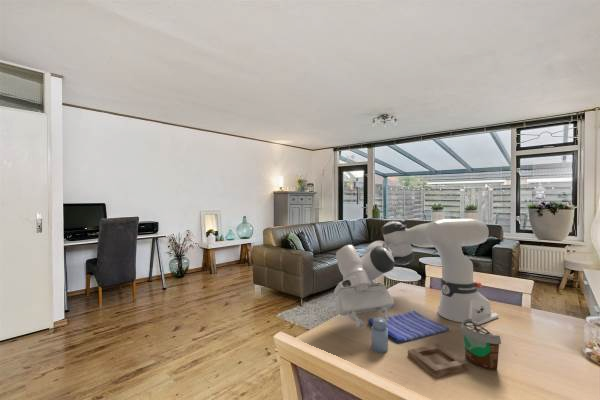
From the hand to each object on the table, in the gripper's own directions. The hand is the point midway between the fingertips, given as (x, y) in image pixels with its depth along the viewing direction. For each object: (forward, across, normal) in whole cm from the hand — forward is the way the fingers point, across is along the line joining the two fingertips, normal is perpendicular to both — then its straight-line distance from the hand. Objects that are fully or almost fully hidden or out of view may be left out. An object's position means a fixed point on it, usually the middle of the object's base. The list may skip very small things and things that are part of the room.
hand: (373, 324), depth 94 cm
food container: (+17, -23, +8) cm, 30 cm away
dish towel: (0, -18, -11) cm, 21 cm away
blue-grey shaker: (+7, -1, -3) cm, 7 cm away
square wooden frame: (+15, -12, +6) cm, 20 cm away
